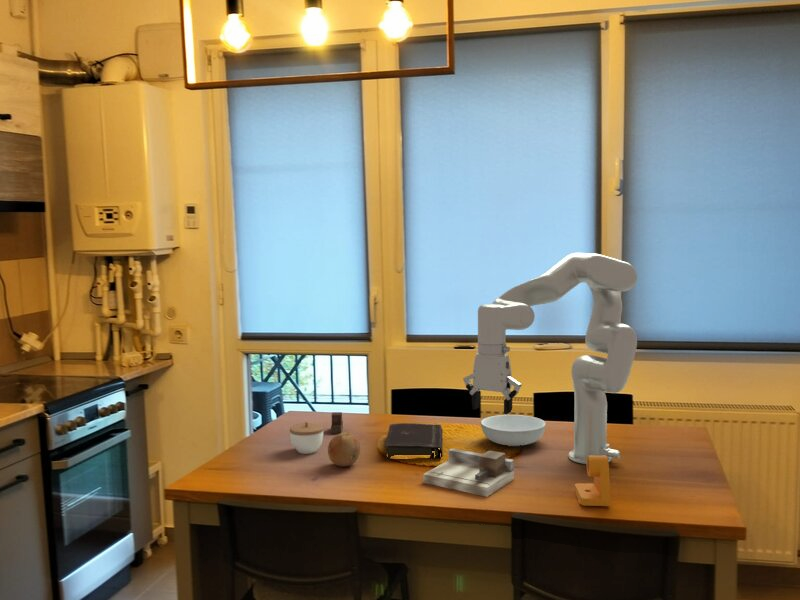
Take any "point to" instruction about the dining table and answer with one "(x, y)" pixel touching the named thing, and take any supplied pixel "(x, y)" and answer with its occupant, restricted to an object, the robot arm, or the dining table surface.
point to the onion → (344, 449)
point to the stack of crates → (336, 423)
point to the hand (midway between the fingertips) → (491, 410)
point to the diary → (413, 439)
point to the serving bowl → (513, 429)
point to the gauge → (491, 464)
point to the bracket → (595, 483)
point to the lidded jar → (306, 437)
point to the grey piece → (467, 474)
